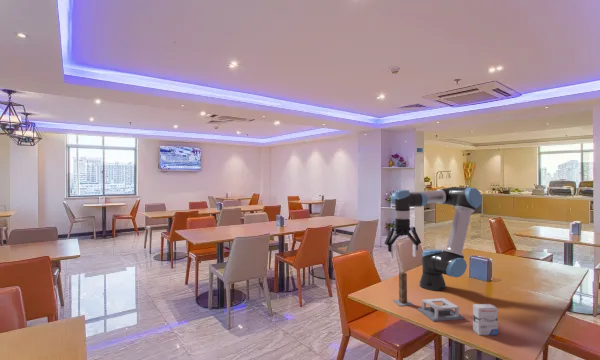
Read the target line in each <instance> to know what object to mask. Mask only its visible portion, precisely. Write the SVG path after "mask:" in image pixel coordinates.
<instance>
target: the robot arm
mask: <svg viewBox="0 0 600 360" xmlns="http://www.w3.org/2000/svg"><path fill="white" fill-rule="evenodd" d="M390 201H391V203H392V204H393V205H394V207H395V213H394V217H395V222H394V223H395V227H389V232H388V234H387V237H386V239H385V241H384V245H386V246H387V252H389V258H391V259H394V246H393V244H394V243H395V241H396V240H397V239H398V238H399V237H400V236H401V237H402V236H403V237H404V236H407V237H408V238H409V240H411V242H412V243H413V244H412V257H414V258H417V257H418V256H417V251H418V249H419V247H418V246H419V245H420V244H422V241H421V239H420V237H419V235H418V233H417V231H416V230H417V229H416V226H411V224H410V223H411V219H410V217H411V215H410V214H411V212H410V209H411V208H417V207H420V208H421V207H425V206H427V204H438V205H447V206H453V208H454V209H455V210H454V215H453V219H452V223H451V228H450V232H449V235H448V240H447V244H446V247H445V249H443V250H442V249H433V248H432V249H424V250H423V251H422V255H421V262H422V263H421V264H422V265H421V266H422V274H421V276H420V280H419V287H420V288H422V289H426V290H429V291H444V290H446V287H447V285H446V282H445V279H444V276H443V275H446V276H448V277H452V278H460V277H462V276H463V275H465V273H466V271H467V267H468V266H467V265H468V264H467V260H465V255H464V254H463V250H464V245H465V241H466V238H467V233H468V228H469V224H470V221H471V220H470V219H471V217H472V216H471V215H472V214H473V213H474V212H475V211H476V209H477V208H479V207H480V206H481V205H482V203H483V197H482V194H481V192H480V191H479V190H478V189H477V188H476V187H470V186H466V187H465V186H464V187H463V186H459V187H458V186H454V187H446V188H438V189H436V190H426V191H425V190H423V191H410V190H407V189H397V190H395V192H393V193H392V194H391V196H390ZM410 231H411V232H410Z"/></svg>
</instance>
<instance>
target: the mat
mask: <svg viewBox="0 0 600 360" xmlns="http://www.w3.org/2000/svg"><path fill="white" fill-rule="evenodd" d="M392 301H393V302H394V303H395V304H396V305H397V306H399V307H407V306H408V307H409V306H414V303H412V302H411V301H409V299H407V303H401V302H399V299H393V300H392Z"/></svg>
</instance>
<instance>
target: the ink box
mask: <svg viewBox="0 0 600 360" xmlns="http://www.w3.org/2000/svg"><path fill="white" fill-rule="evenodd" d="M498 313H499V311H498V307H496V306H495V305H494V304H492V303H476V304H475V303H472V329H473V330H472V331H473V332H475V333H476V334H477V335H478V336H495V335H499V317H498V315H499V314H498Z"/></svg>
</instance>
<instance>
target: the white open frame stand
mask: <svg viewBox="0 0 600 360" xmlns="http://www.w3.org/2000/svg"><path fill="white" fill-rule="evenodd" d="M421 302H422V307H417V311H419V312H420V313H421V314H423V315H424V316H425V317H427V318H428V319H429V320H431V321H432V322H442V321H443V322H444V321H455V320H456V321H458V320H464V319H465V316H464V315H461V314H460V308H459V306H458V305H456V304H455V303H453V302H451V301H450V300H447V299H446V298H444V297H442V298H441V297H439V298H438V297H437V298H428V299H427V298H424V299H422V301H421ZM435 303H441V305H437V304H435ZM427 305H428V307H427ZM442 309H444V310H442Z"/></svg>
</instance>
